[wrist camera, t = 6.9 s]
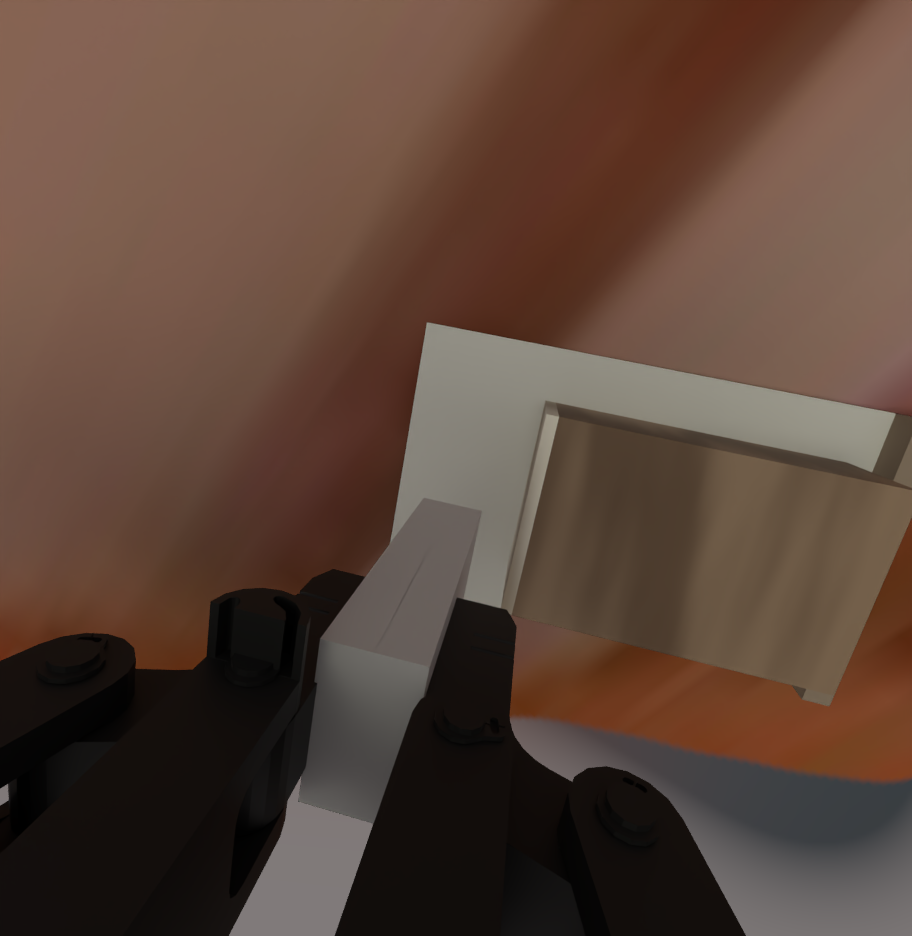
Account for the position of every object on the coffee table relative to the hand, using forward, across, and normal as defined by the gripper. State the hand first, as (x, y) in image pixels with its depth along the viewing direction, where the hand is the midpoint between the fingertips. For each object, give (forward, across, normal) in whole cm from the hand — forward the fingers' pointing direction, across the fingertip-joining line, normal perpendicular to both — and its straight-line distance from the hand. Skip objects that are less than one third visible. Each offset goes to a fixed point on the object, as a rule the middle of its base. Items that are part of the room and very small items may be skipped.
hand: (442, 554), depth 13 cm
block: (+6, +2, 0) cm, 7 cm away
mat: (+9, +6, 0) cm, 11 cm away
